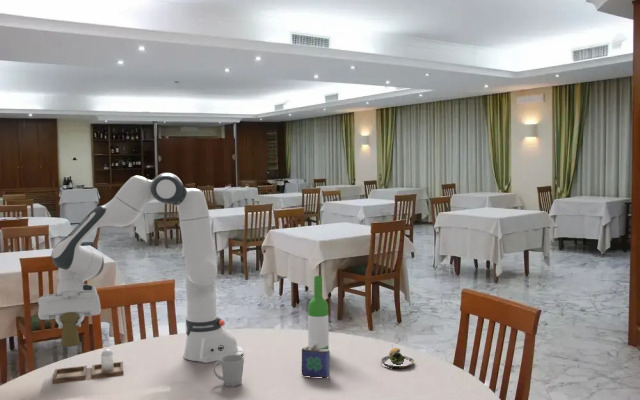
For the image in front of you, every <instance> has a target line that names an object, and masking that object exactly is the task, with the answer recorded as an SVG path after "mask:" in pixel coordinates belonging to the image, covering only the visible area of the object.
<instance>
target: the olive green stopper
mask: <svg viewBox="0 0 640 400" xmlns="http://www.w3.org/2000/svg"><path fill="white" fill-rule="evenodd" d="M78 319H79V318H78V316H77V314H76V313H74V312H68V313H64V314H63V315H62V317H61V318H60V321H61V322H63V328H62V332H61V343H60V346H61V347H63V348H69V347H70V348H71V347H75V346H79V345H80V344H81V341H80V336H79V331H78V330H79V329H78V327H76V321H77V320H78Z"/></svg>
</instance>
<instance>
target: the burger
mask: <svg viewBox="0 0 640 400" xmlns="http://www.w3.org/2000/svg"><path fill="white" fill-rule="evenodd" d="M391 347H392V349H390V351H389V352H388V355H387V356H383V357H382V358H381V363H383V364H384V365H385V366H387V367H389V368H393V369H394V368H398V367H399V368H406V367H407V368H408V367H409V366H411V365H412V364H414V359H413V358H411V357H408V356H406V355H402V353H401V349H400V348H397V347H394V346H393V345H391ZM388 359H390V360H391V362H392V363H393V364H396V365H401V364H403V362H404V359H406V360H409V361H410V362H411V364H410V365H407V366H393V365H391V364H390V365H388V364H385V362H386V361H387V360H388Z"/></svg>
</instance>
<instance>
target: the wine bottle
mask: <svg viewBox="0 0 640 400" xmlns="http://www.w3.org/2000/svg"><path fill="white" fill-rule="evenodd" d="M313 280H314V284H313V285H314V286H313V287H314V288H313V289H314V291H313V292H314V293H313V298H311V300H310V301H309V302H308V306H307V307H308V308H307V310H308V311H307V319H308V320H307V325H308V326H307V334H308V335H307V337H308V338H307V339H308V340H307V343H308V345H307V346H308V347H309V348H310V347H313V346H314V345H313V344H318V345H317V349H328V350H329V349H330V348H329V347H330V346H329V344H330V342H329V304H328V301H327V299H325V298H324V297H323V277H322V276H321V275H315V276H314V278H313ZM329 351H330V350H329Z"/></svg>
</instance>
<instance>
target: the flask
mask: <svg viewBox="0 0 640 400" xmlns="http://www.w3.org/2000/svg"><path fill="white" fill-rule="evenodd" d="M313 345H314V346H313V347H310V348H309V347H308V345H307V346H304V347H302V348H301V376H302V375H303V376H310V377H322V378H327V377H329V378H330V377H331V376H330V372H331V371H330V367H331V366H330V353H331V352H330V350H328V349H317V345H318V344H313ZM303 376H302V377H303Z"/></svg>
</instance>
